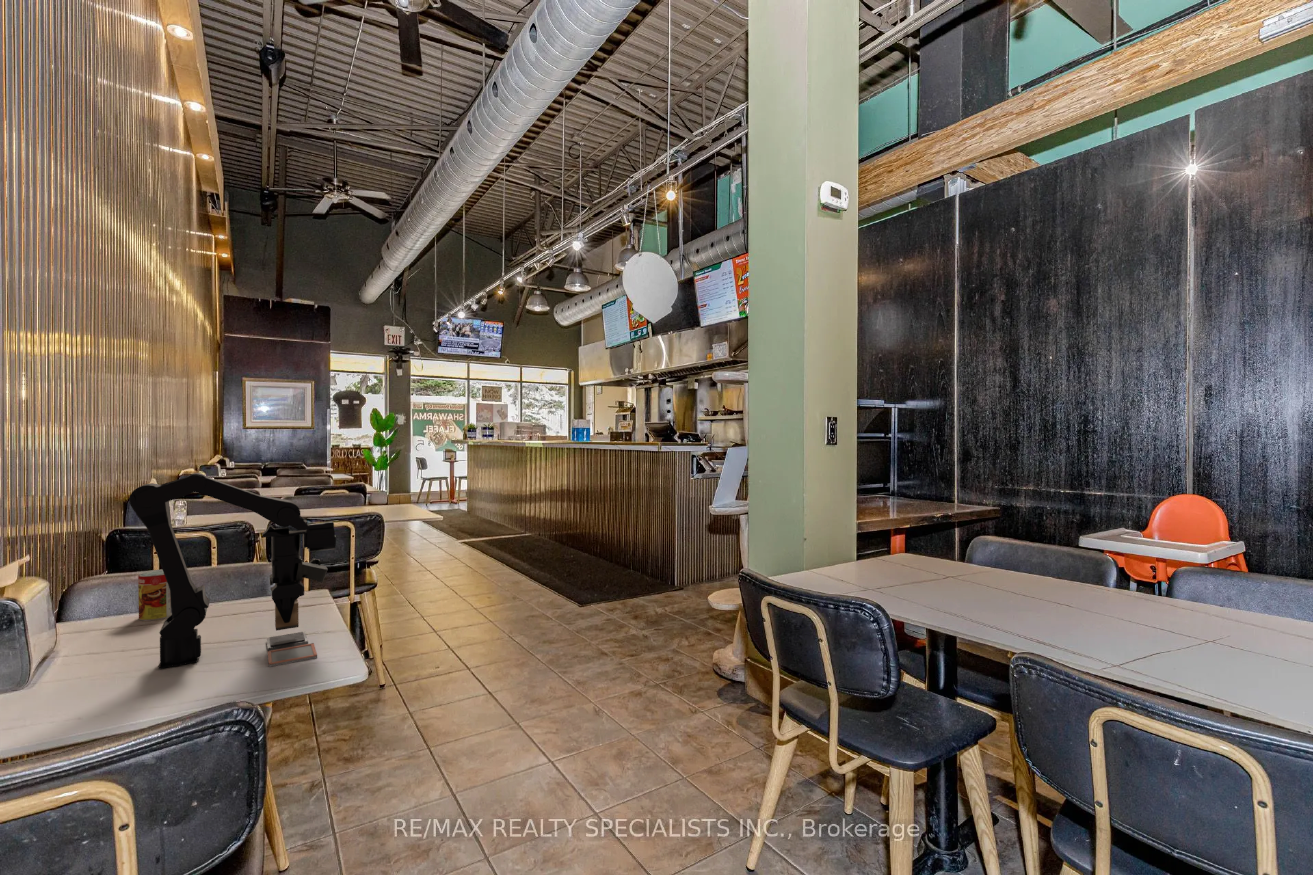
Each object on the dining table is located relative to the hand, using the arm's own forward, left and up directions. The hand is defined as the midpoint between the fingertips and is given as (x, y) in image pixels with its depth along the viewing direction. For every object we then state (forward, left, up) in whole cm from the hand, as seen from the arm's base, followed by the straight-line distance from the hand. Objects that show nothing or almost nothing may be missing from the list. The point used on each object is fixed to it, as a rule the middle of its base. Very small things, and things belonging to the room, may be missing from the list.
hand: (286, 619), depth 141 cm
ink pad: (0, 0, -6) cm, 6 cm away
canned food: (-28, +45, -6) cm, 53 cm away
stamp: (0, 0, -2) cm, 2 cm away
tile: (+1, -10, -6) cm, 11 cm away
